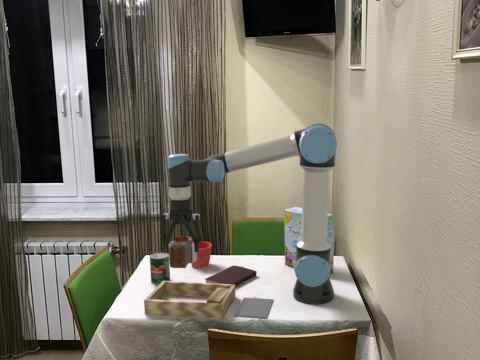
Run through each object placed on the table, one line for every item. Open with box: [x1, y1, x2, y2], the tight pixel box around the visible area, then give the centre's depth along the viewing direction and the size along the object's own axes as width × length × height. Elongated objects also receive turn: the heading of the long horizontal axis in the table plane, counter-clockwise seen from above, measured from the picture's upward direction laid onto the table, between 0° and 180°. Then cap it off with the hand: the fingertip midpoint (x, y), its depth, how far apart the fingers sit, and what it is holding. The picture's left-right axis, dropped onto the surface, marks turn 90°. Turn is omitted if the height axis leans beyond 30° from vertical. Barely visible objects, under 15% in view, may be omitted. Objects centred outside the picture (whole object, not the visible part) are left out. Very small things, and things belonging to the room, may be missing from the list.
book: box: [204, 265, 257, 288], centre depth 212 cm, size 12×19×3 cm, turn 144°
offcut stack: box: [206, 288, 229, 304], centre depth 185 cm, size 6×15×5 cm, turn 168°
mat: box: [234, 297, 274, 319], centre depth 184 cm, size 11×16×1 cm
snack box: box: [283, 206, 335, 275], centre depth 221 cm, size 22×9×26 cm, turn 42°
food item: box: [168, 235, 194, 269], centre depth 184 cm, size 14×8×10 cm, turn 173°
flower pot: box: [190, 241, 213, 269], centre depth 230 cm, size 11×11×10 cm
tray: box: [143, 280, 236, 320], centre depth 187 cm, size 28×19×5 cm
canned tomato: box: [149, 252, 171, 285], centre depth 212 cm, size 8×8×11 cm
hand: (183, 260), depth 185 cm, fingers closed on food item, 8 cm apart
